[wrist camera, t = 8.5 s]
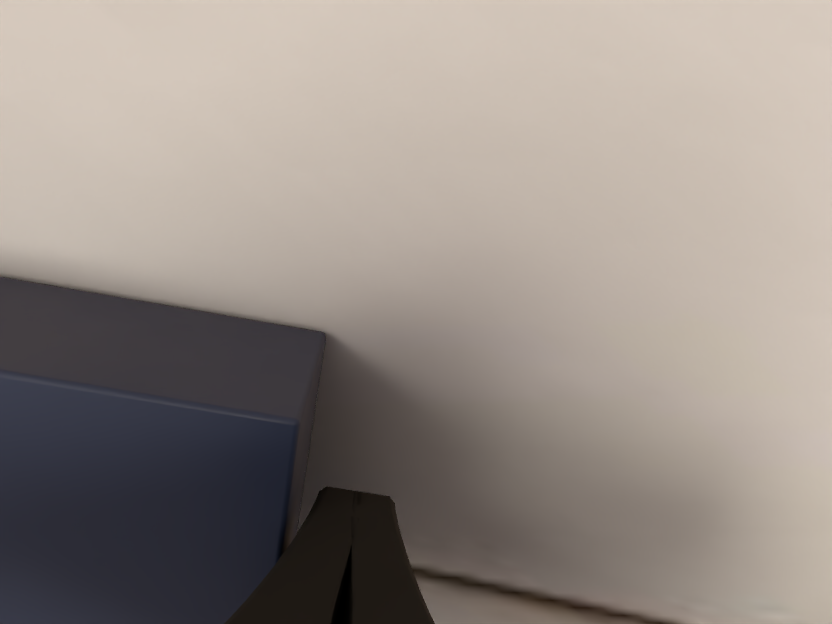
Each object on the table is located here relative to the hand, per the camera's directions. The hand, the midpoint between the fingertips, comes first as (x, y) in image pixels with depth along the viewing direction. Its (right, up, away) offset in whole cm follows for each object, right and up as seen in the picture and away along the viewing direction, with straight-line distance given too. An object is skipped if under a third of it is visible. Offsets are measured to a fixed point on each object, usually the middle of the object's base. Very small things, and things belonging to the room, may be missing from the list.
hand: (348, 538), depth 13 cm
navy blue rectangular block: (-6, +2, +1) cm, 6 cm away
